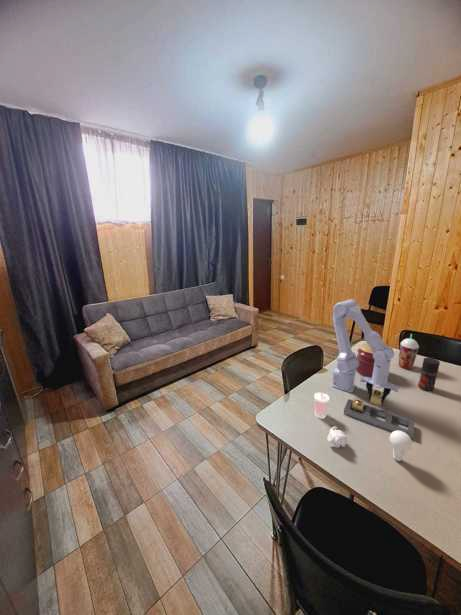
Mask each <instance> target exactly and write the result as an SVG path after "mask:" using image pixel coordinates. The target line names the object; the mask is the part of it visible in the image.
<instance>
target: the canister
mask: <svg viewBox="0 0 461 615" xmlns="http://www.w3.org/2000/svg"><path fill="white" fill-rule="evenodd" d="M357 353H358V354H356V357H357V359H358V360H359V366H358V367H357V368H356V372H357V374H359V375H361V376H364V377H371V378H372V375H373V369H374V362H375V360H374V358H373V354H374V352H373V351H372V349H371V348H370V346H369V345H368V343H367V342H366V343H363V344H361V345H359V348H357Z"/></svg>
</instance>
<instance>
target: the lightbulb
mask: <svg viewBox="0 0 461 615" xmlns="http://www.w3.org/2000/svg"><path fill="white" fill-rule="evenodd" d="M389 441H390V442H389V443H390V444H391V446H392V457H393V459H394V460H396V461H398V462H402V460H403V457H404V456H405V454H406V452H408V451H409V450H411V448H412V446H413V440H412V439H411V438H410V437H409V436H408V434H406V433H405V432H403V431H399V430H397V431H394V432H390V435H389Z"/></svg>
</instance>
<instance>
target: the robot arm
mask: <svg viewBox="0 0 461 615" xmlns="http://www.w3.org/2000/svg"><path fill="white" fill-rule="evenodd" d="M332 309H333V313H332V323H333V327H334V331H335V337H336V341H337V342H336V343H337V345H338V346H337V347H338V350H339V354H338V355H337V358H336V362H337V363H336V367H335V368H334V371H333V376H332V385H331V387H333V388H336V389H338V390H341V391H344V392H345V391H346V392H348V393H351V394H353V393H354V390H355V388H356V386H357V384H356V383H355V378H356V372H357V371H356V368H357V367H358V366H359V360H358V359H357V354H356V353H355V352H353V350H352V346H351V341H350V336H349V332H348V327H347V322H346V320H347V319H350V320H353V321H354V322H355V323H356V325H357V326H358V327H359V329H360V330H361V331H362V333H363V334H364V337H363V339H364V341H365V342H366V343H368V345H369V346H370V348H371V349H372V351H373V352H374V354H373V358H374V360H375V362H374V369H373V375H372V378H371V377H365V376H363V375H361V376H360V379H359V381H360V382H359V383H366V384H365V388H366V390H367V393H368V396H369V397H368V398H369V400H371V394H372V391H373V389H374V387H375V388H377V389H381V388H382V389H383V391H382V392H383V396H382V400H381V404H383V403H384V401H385V399H386V398H387V396H388V395H390V394H391V391H394V392H395V393H399V387H400V386H399V385H396V384H393V383H391V382H390V381H388V378H389V373H390V372H389V371H390V367H391V360H392V359H393V358H394V357H395V351H394V349H393V348H392V347H391V346H389V345H387V344H386V343H385V341H383V338H382V337H381V335H380V333H378V331H375V330H373V329H372V328H371V326H370V324H369V323H368V321H367V319H366V317H365V316H364V314H363V312H362V309H361V307H360V305H359V304H358V302H357V301H356V300H355V299H353V298H349V299H347V300H343V301H339V302H337V303H336V304H335V305H334V306H333V307H332Z"/></svg>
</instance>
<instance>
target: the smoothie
mask: <svg viewBox="0 0 461 615" xmlns="http://www.w3.org/2000/svg"><path fill="white" fill-rule="evenodd" d="M412 337H413V334H412V333H410V336H409V338H405V339H403V340H402V341H400V343H399V344H400V345H399V354H398V365H399V367H400V368H401V369H404V370H412V369H413V368H414V364H415V361H416V358H417V354H418V351H419V348H420V346H419V344H418V343H419V342H417V341H416V340H415V339H414V338H412Z"/></svg>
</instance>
